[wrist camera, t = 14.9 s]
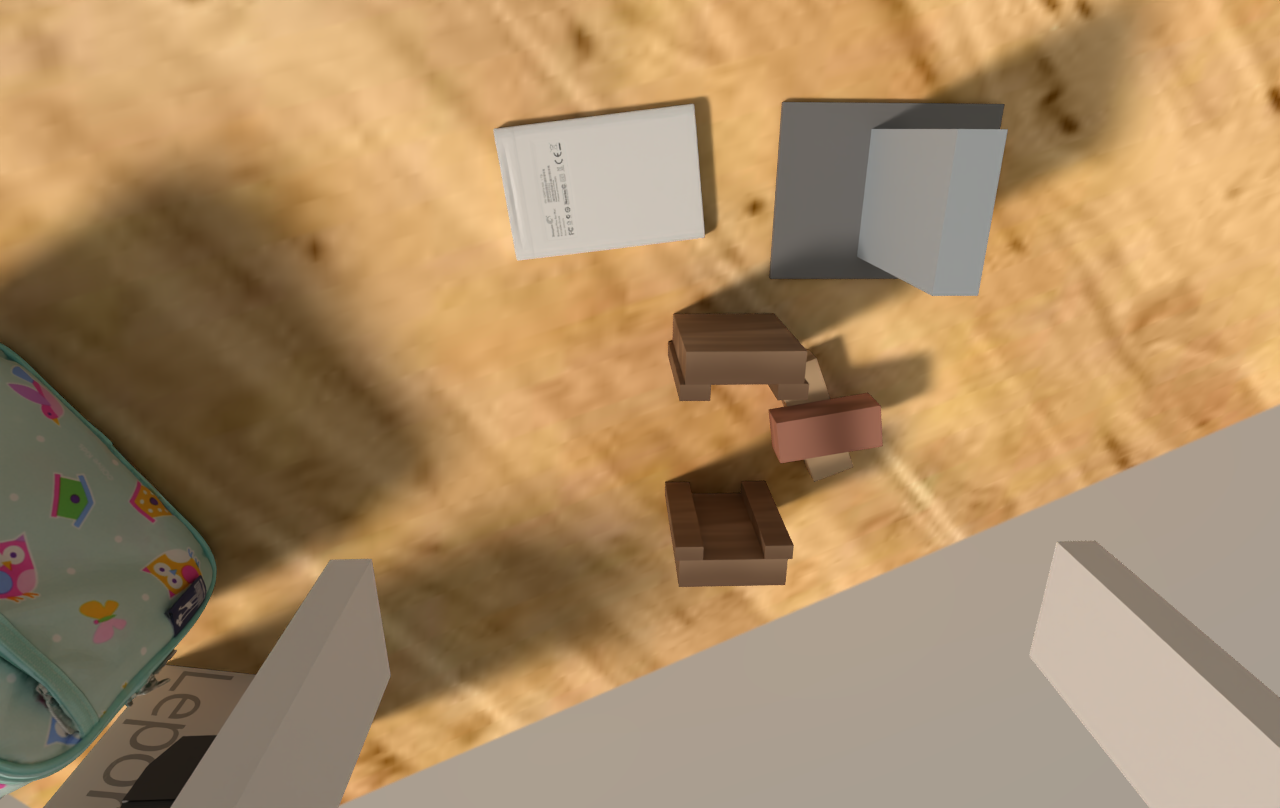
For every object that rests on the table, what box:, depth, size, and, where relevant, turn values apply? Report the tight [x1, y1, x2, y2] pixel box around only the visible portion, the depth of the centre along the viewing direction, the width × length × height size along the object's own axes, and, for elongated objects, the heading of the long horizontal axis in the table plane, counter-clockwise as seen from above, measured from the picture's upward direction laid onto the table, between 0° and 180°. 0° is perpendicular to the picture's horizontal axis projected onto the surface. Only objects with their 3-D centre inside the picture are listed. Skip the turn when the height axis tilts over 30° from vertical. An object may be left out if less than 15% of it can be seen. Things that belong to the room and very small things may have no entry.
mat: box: [769, 102, 1004, 279], centre depth 47 cm, size 11×14×1 cm
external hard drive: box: [494, 104, 705, 260], centre depth 46 cm, size 2×8×12 cm
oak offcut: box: [782, 349, 853, 482], centre depth 52 cm, size 9×3×2 cm, turn 23°
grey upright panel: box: [857, 129, 1008, 296], centre depth 41 cm, size 8×2×12 cm, turn 0°
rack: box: [665, 314, 809, 587], centre depth 48 cm, size 16×8×9 cm, turn 0°
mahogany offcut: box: [769, 393, 883, 463], centre depth 49 cm, size 7×3×2 cm, turn 100°
